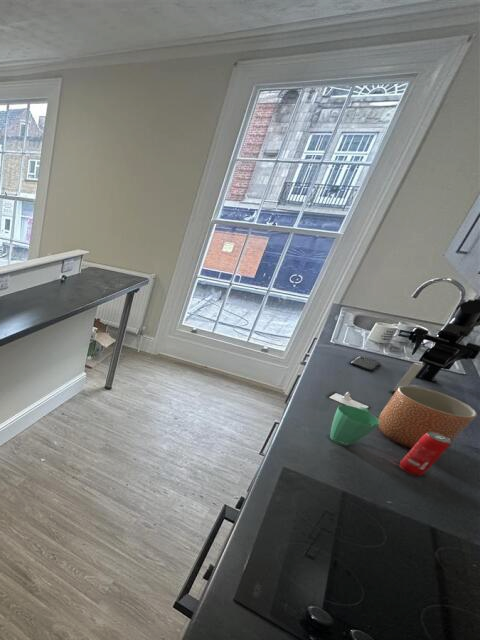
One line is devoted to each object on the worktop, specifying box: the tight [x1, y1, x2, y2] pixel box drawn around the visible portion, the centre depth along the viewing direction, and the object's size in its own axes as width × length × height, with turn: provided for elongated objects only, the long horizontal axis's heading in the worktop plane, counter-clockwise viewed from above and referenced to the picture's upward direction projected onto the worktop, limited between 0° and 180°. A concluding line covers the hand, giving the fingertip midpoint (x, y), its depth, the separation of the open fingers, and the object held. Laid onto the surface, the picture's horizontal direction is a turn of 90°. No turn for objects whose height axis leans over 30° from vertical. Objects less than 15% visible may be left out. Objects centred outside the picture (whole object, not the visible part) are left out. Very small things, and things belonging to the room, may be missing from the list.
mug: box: [329, 404, 380, 447], centre depth 122 cm, size 15×10×10 cm
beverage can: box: [399, 432, 452, 476], centre depth 111 cm, size 5×5×12 cm
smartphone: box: [350, 355, 381, 372], centre depth 176 cm, size 7×1×15 cm
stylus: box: [391, 362, 424, 395], centre depth 150 cm, size 2×2×13 cm
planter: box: [377, 385, 478, 450], centre depth 123 cm, size 17×17×15 cm
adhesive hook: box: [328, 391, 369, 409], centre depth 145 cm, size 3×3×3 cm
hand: (428, 359), depth 151 cm, fingers open, 9 cm apart
